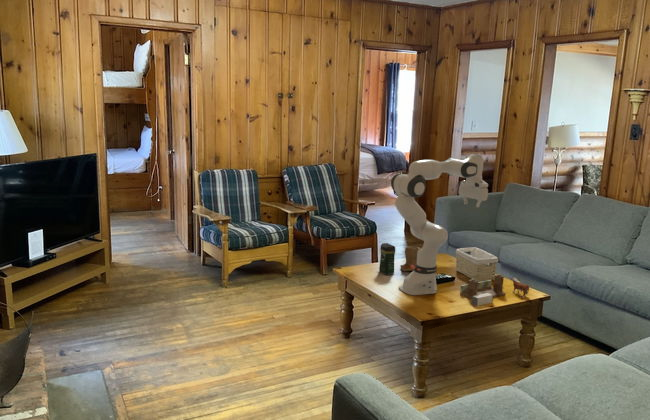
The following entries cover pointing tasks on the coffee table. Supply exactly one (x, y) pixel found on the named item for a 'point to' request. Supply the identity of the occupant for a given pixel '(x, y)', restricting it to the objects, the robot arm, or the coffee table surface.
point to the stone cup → (410, 258)
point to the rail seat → (483, 287)
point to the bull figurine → (520, 286)
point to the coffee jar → (387, 258)
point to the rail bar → (482, 299)
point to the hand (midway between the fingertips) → (471, 205)
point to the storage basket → (476, 263)
